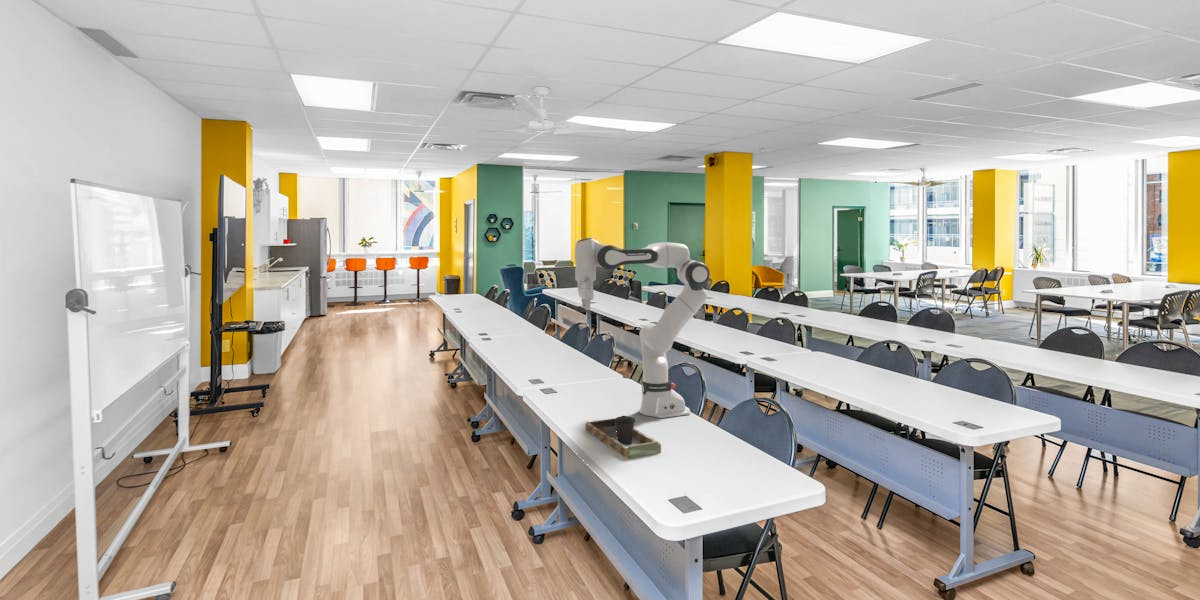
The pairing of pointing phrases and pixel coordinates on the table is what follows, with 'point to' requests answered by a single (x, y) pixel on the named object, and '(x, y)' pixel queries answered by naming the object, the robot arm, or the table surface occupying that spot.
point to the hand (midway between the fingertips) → (586, 308)
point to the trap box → (631, 451)
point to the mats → (609, 430)
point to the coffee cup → (625, 429)
